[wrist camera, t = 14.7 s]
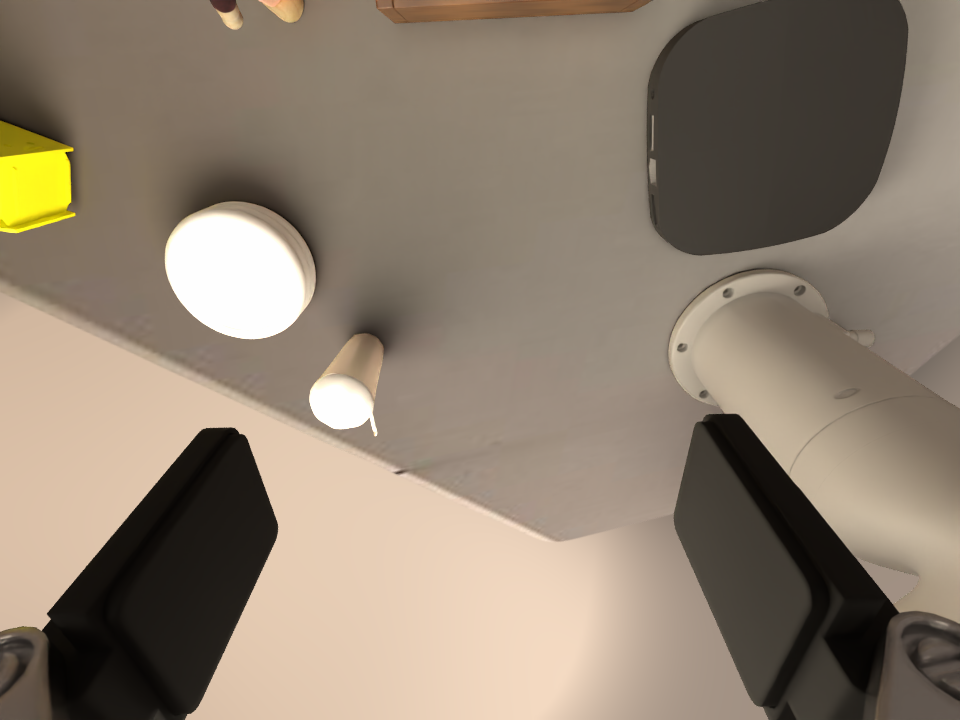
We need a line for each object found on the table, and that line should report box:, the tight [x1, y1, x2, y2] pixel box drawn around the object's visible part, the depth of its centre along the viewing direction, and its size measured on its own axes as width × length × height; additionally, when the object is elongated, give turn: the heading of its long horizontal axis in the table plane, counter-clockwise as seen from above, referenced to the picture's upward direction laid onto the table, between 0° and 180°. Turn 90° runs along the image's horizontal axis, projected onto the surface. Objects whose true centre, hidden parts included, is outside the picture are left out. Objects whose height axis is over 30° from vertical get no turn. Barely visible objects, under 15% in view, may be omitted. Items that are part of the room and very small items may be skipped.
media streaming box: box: [647, 0, 908, 255], centre depth 31 cm, size 15×15×3 cm
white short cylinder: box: [165, 201, 316, 339], centre depth 35 cm, size 10×10×4 cm
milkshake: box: [310, 333, 384, 437], centre depth 36 cm, size 5×5×10 cm
